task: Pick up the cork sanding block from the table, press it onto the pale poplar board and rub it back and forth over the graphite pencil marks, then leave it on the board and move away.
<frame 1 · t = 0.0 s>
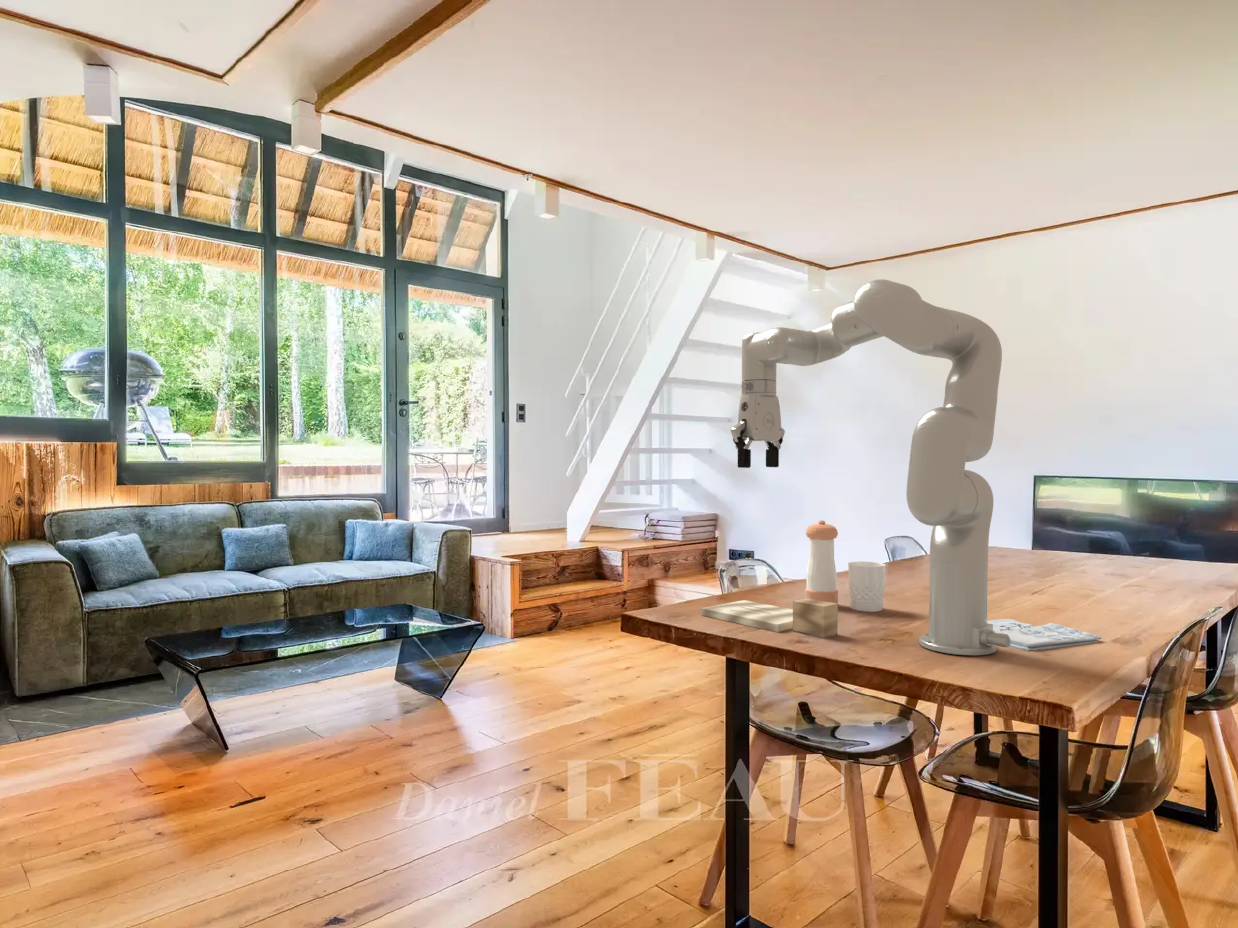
hand: (758, 467, 173), 31 cm above the table, tool pointing down, fingers open, 9 cm apart
white cup: (866, 609, 173), on the table
pepper shaker: (821, 605, 177), on the table
sanding block: (814, 633, 150), on the table
board: (759, 618, 163), on the table
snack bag: (1019, 638, 150), on the table
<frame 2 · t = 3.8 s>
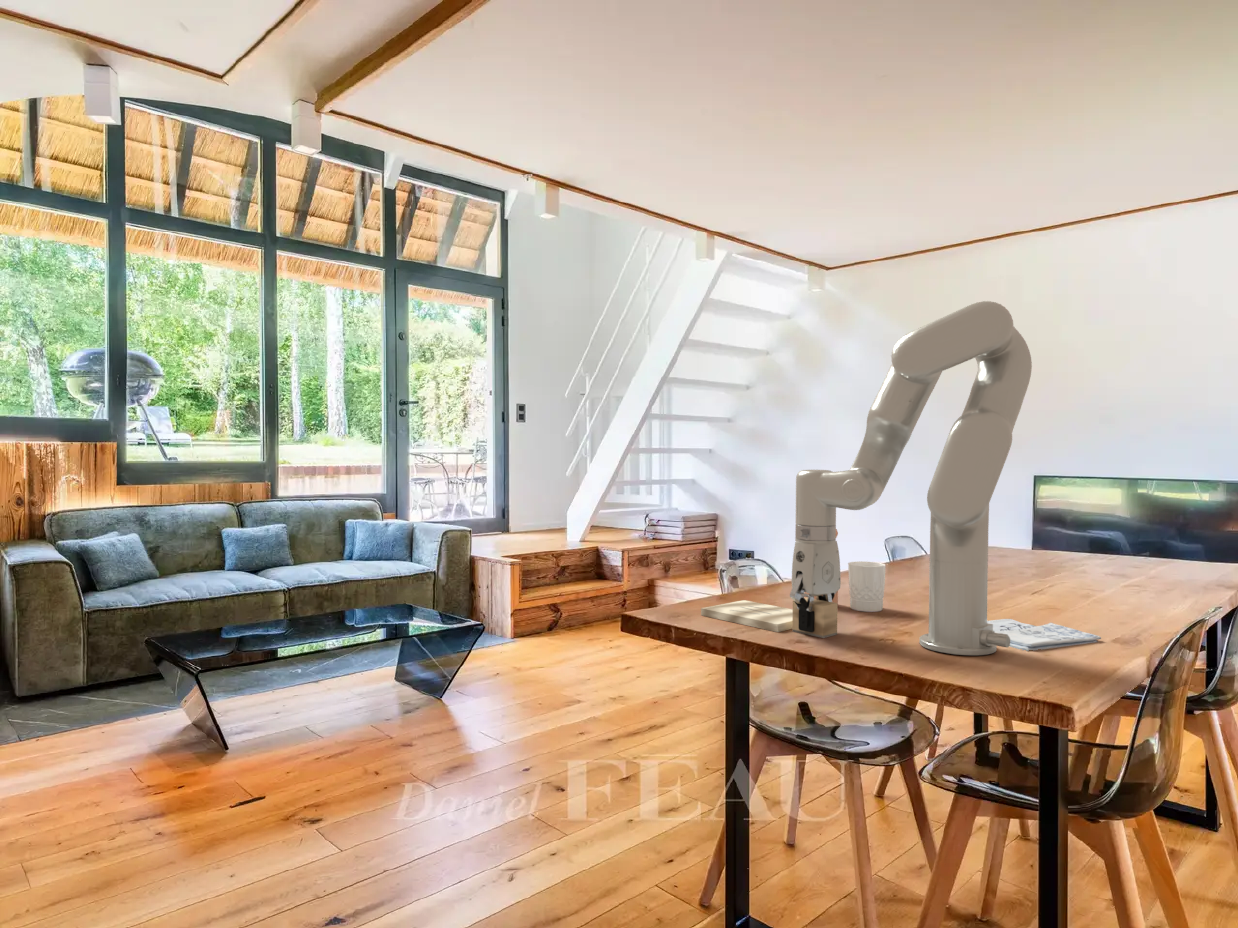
hand: (814, 627, 150), 1 cm above the table, tool pointing down, fingers closed on sanding block, 4 cm apart
sanding block: (814, 632, 150), on the table, touching gripper
everything else where it was.
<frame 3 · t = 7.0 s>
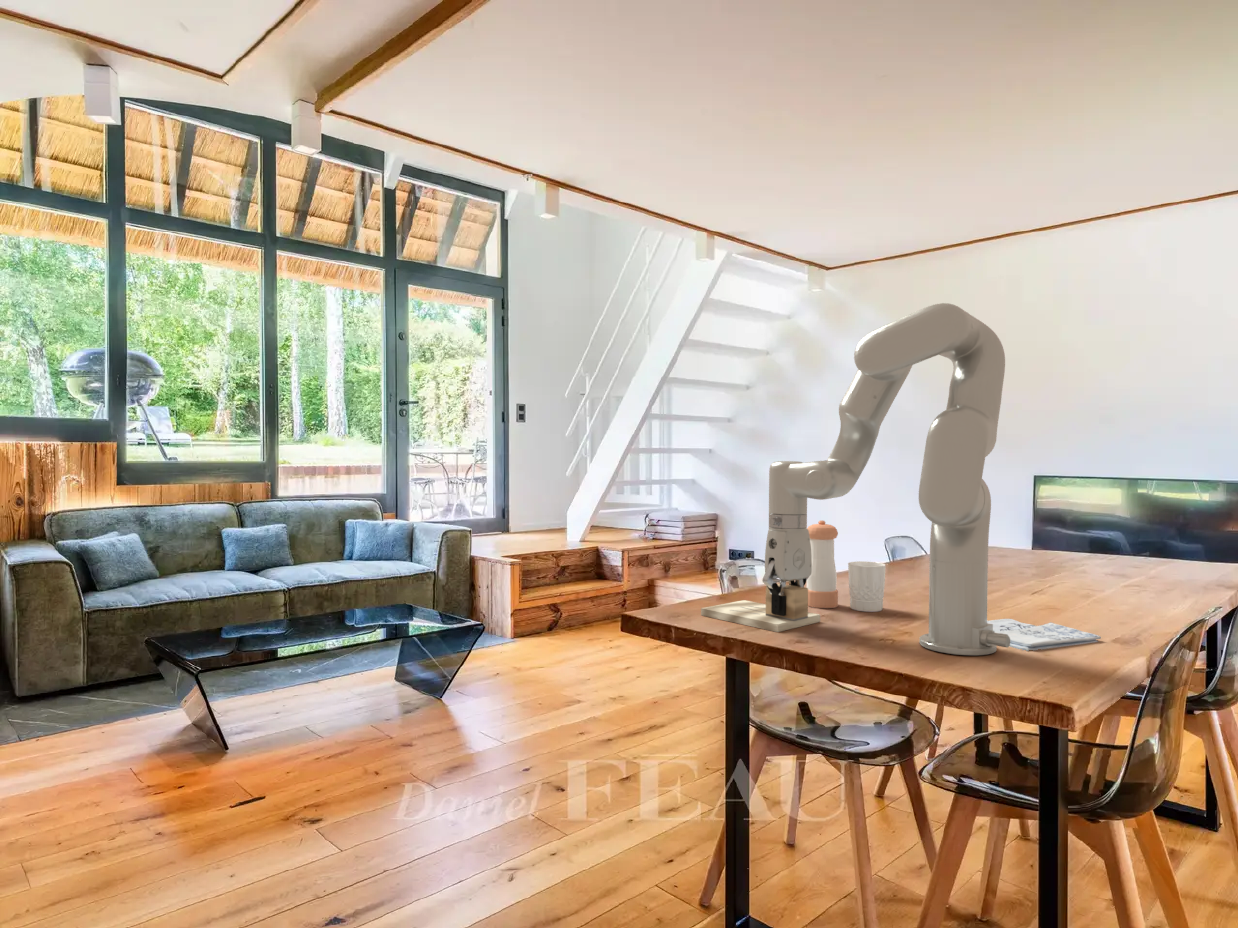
hand: (786, 612, 157), 2 cm above the table, tool pointing down, fingers closed on sanding block, 4 cm apart
sanding block: (786, 616, 157), point 2 cm above the table, touching board, gripper
everything else where it was.
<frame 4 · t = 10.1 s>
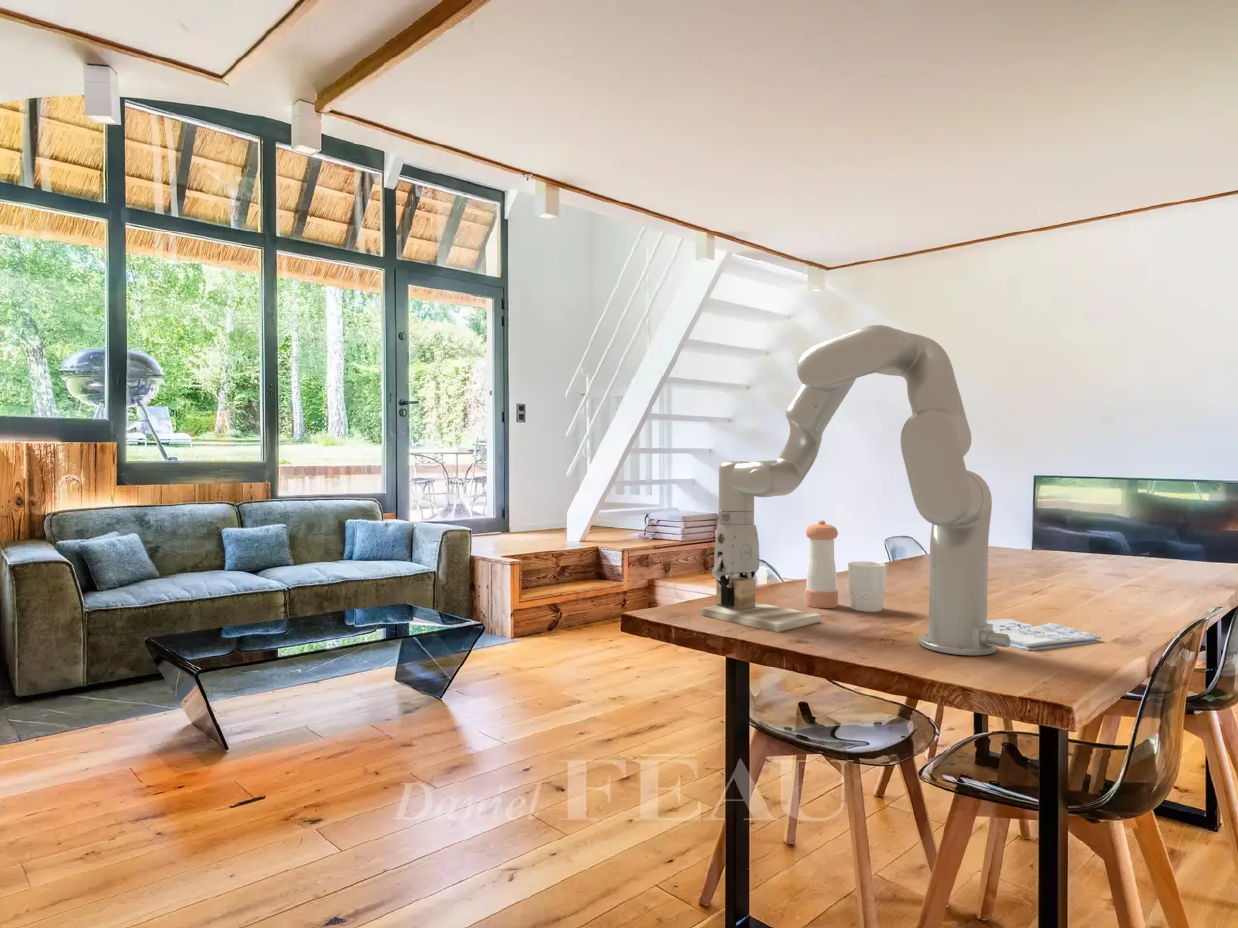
hand: (735, 603, 168), 2 cm above the table, tool pointing down, fingers closed on sanding block, 4 cm apart
sanding block: (735, 606, 168), point 2 cm above the table, touching gripper
everything else where it was.
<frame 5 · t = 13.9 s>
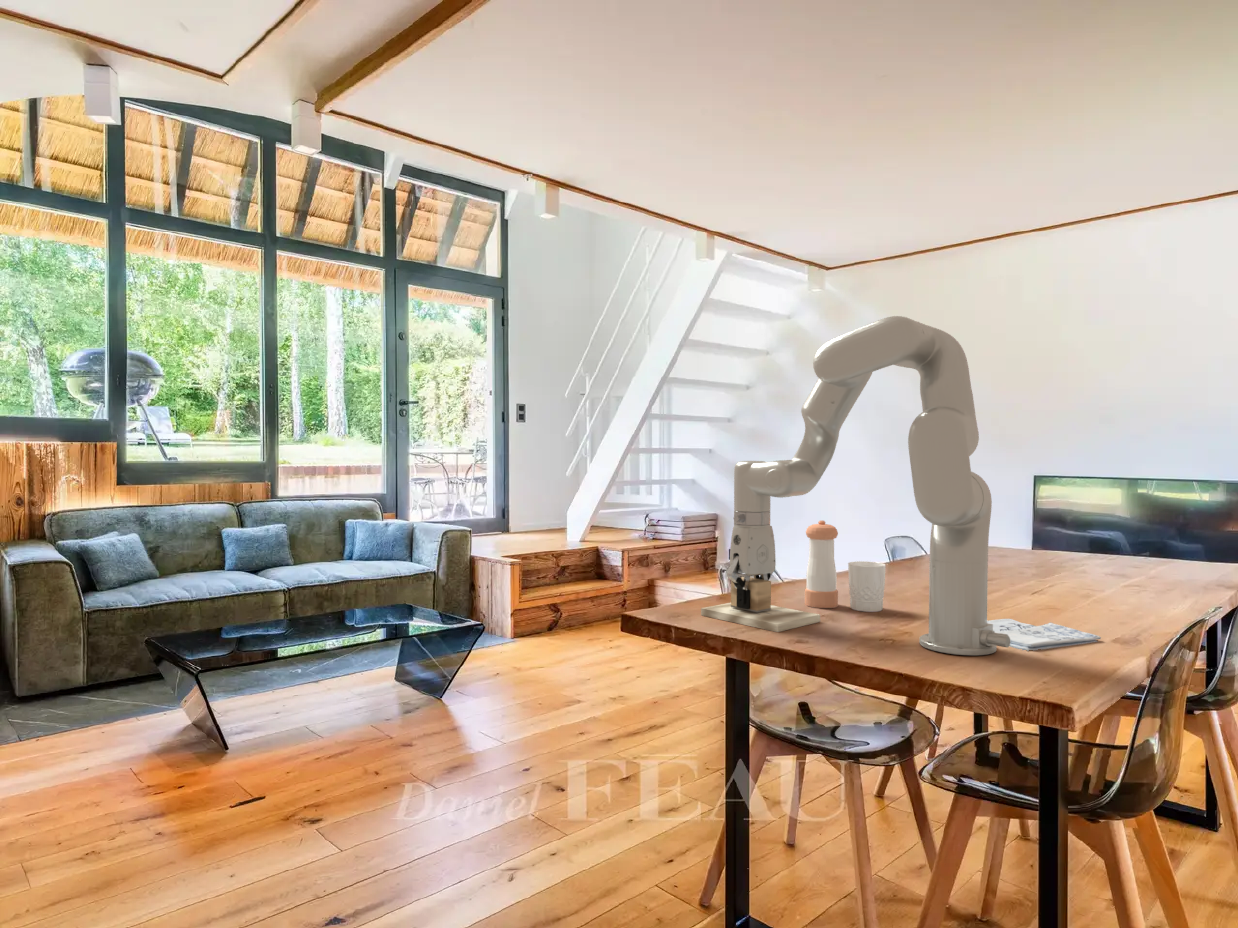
hand: (751, 605, 164), 2 cm above the table, tool pointing down, fingers closed on sanding block, 4 cm apart
sanding block: (750, 608, 164), point 2 cm above the table, touching gripper
everything else where it was.
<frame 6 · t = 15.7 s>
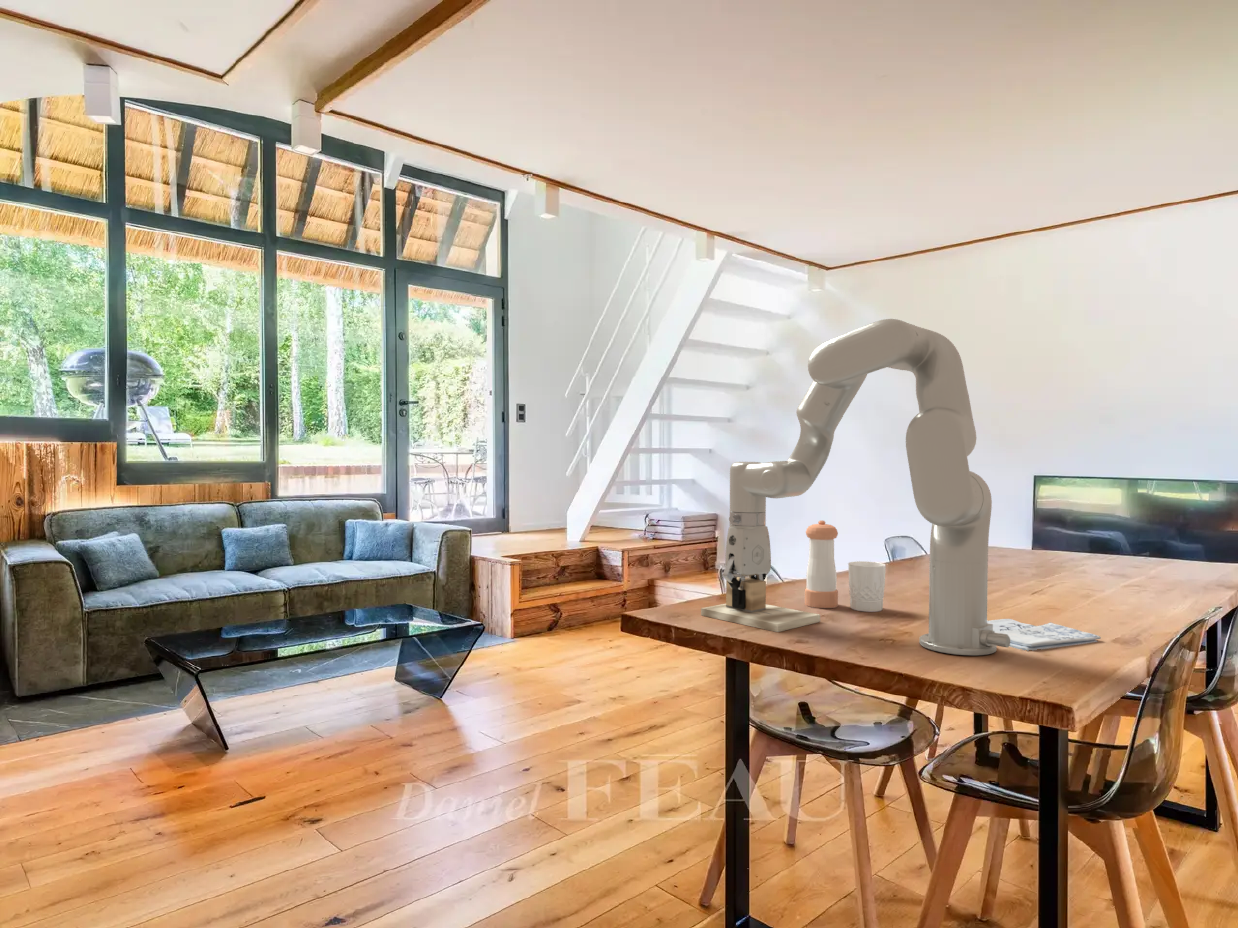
hand: (746, 605, 165), 2 cm above the table, tool pointing down, fingers closed on sanding block, 4 cm apart
sanding block: (745, 608, 165), point 2 cm above the table, touching gripper
everything else where it was.
when the fingers open (2 cm above the table, at t = 16.6 s): sanding block stays where it is, resting on board.
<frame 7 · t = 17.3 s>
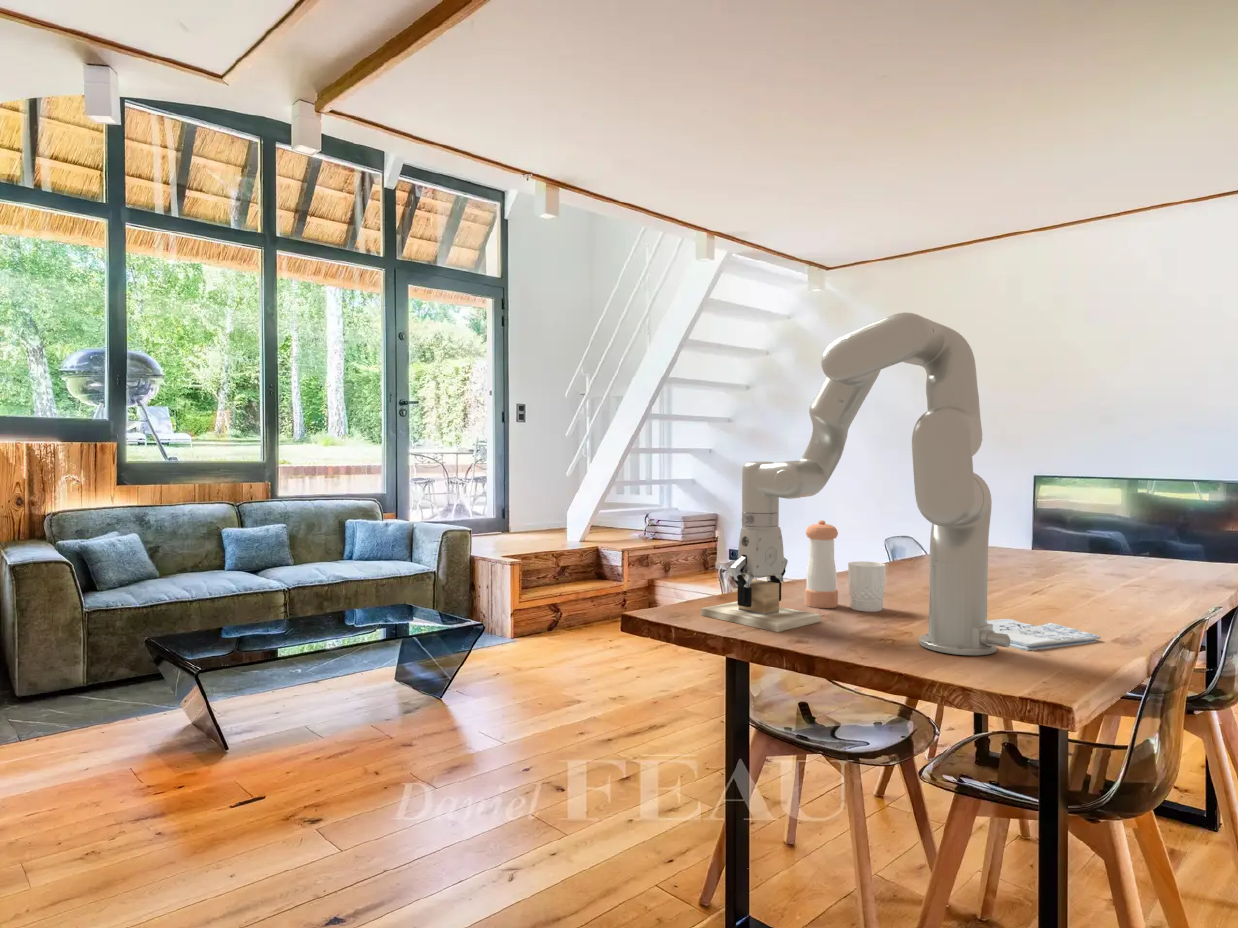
hand: (759, 603, 163), 3 cm above the table, tool pointing down, fingers open, 9 cm apart
sanding block: (758, 610, 163), point 2 cm above the table, touching board
everything else where it was.
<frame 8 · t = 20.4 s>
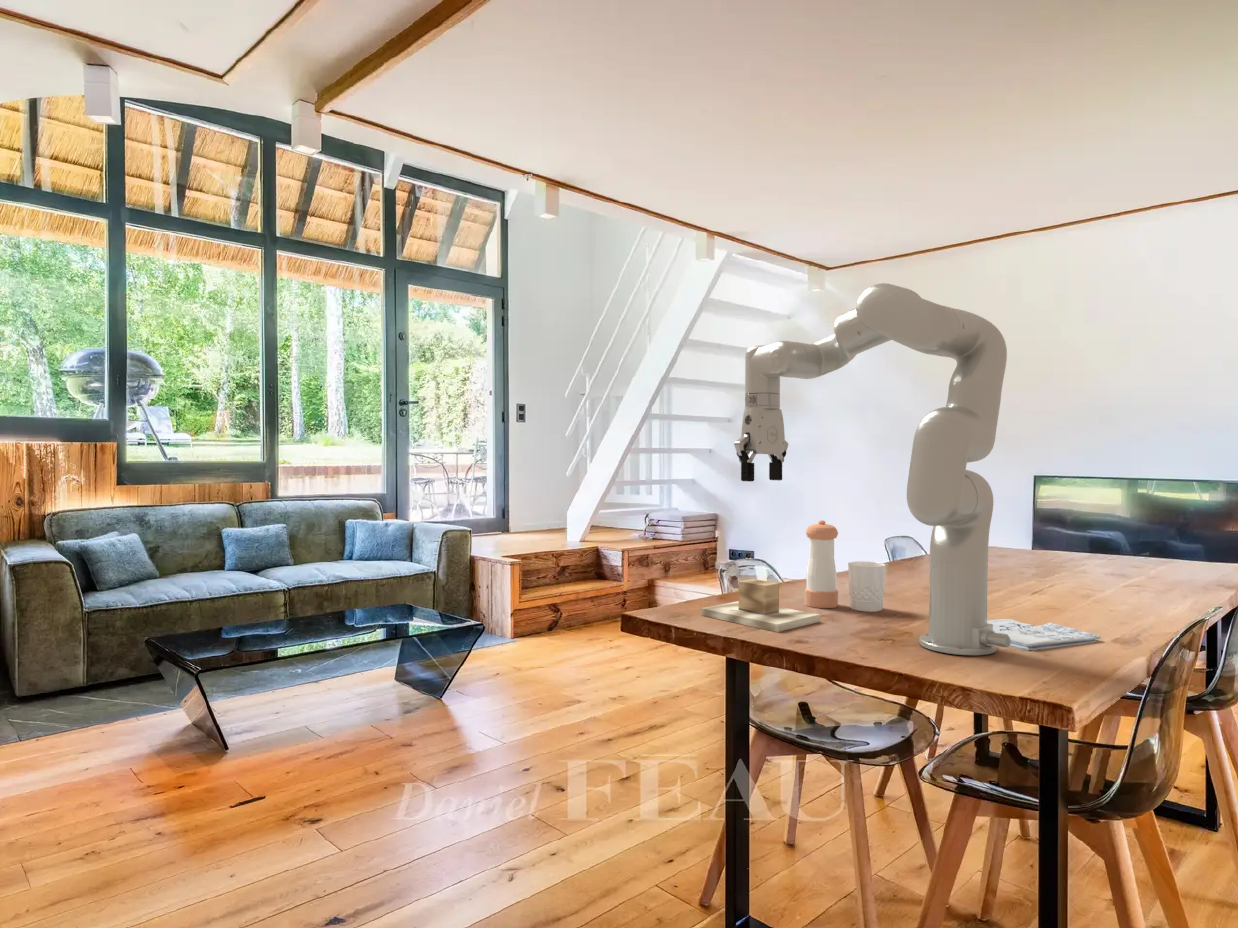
hand: (761, 480, 172), 28 cm above the table, tool pointing down, fingers open, 9 cm apart
nothing on the table moved.
at the end: sanding block inside the target area on the board (0.3 cm from its centre), point 1.5 cm above the board's base; sanding block touching board; the gripper is holding nothing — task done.
